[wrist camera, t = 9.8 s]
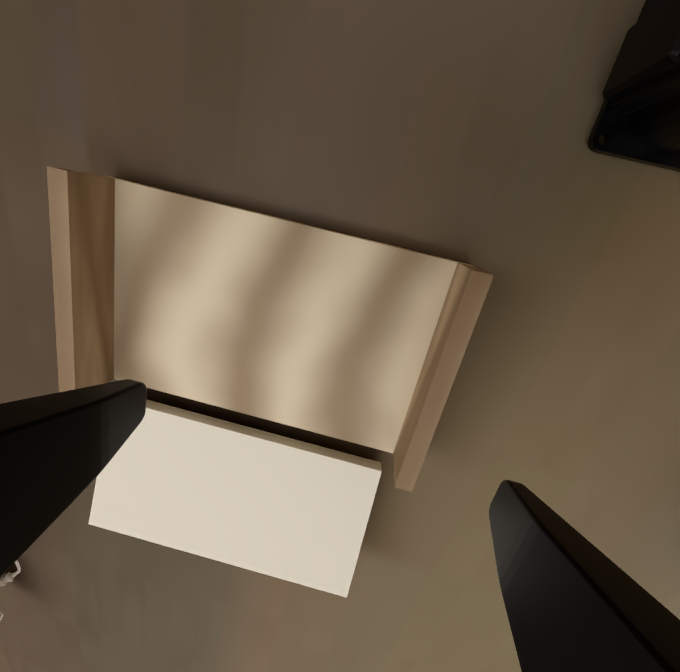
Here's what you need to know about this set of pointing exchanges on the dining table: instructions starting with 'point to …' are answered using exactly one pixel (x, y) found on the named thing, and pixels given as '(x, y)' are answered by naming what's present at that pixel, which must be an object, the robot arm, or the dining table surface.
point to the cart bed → (257, 313)
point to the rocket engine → (9, 578)
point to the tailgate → (239, 497)
